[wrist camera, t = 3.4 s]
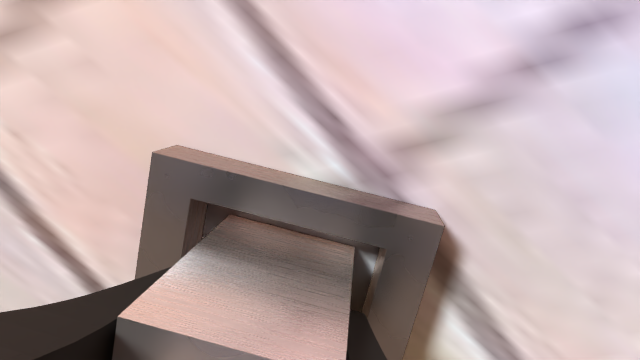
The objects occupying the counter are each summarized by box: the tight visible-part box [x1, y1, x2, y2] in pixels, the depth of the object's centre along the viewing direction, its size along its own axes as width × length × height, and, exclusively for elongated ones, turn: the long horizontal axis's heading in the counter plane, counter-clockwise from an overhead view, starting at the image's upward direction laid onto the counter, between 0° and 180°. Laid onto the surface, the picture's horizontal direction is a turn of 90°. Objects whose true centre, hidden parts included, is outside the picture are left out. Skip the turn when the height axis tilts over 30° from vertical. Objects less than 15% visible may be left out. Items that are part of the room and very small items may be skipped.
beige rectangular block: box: [112, 215, 355, 360], centre depth 10 cm, size 4×4×6 cm
